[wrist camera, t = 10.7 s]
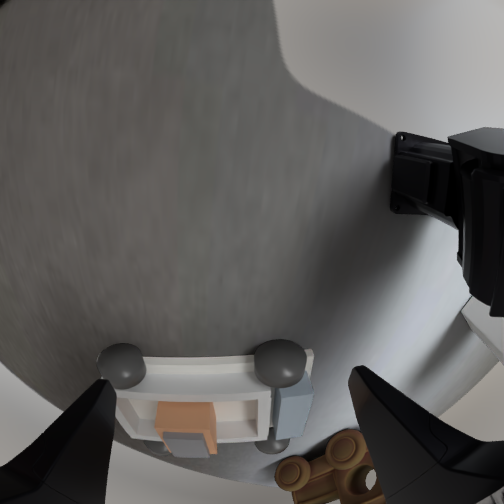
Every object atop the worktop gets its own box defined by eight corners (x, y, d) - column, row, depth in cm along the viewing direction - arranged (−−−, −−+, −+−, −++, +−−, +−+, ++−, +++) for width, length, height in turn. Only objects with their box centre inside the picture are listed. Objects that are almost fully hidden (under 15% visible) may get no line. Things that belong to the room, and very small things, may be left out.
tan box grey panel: (209, 387, 24) (209, 436, 19) (216, 417, 26) (217, 460, 21) (160, 387, 23) (153, 434, 18) (173, 417, 26) (169, 458, 21)
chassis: (313, 335, 24) (328, 369, 20) (295, 423, 30) (302, 450, 26) (93, 341, 22) (78, 373, 18) (140, 427, 28) (135, 453, 24)
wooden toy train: (364, 413, 32) (401, 502, 17) (389, 424, 36) (421, 495, 21) (265, 464, 36) (278, 541, 21) (302, 470, 40) (318, 535, 25)
